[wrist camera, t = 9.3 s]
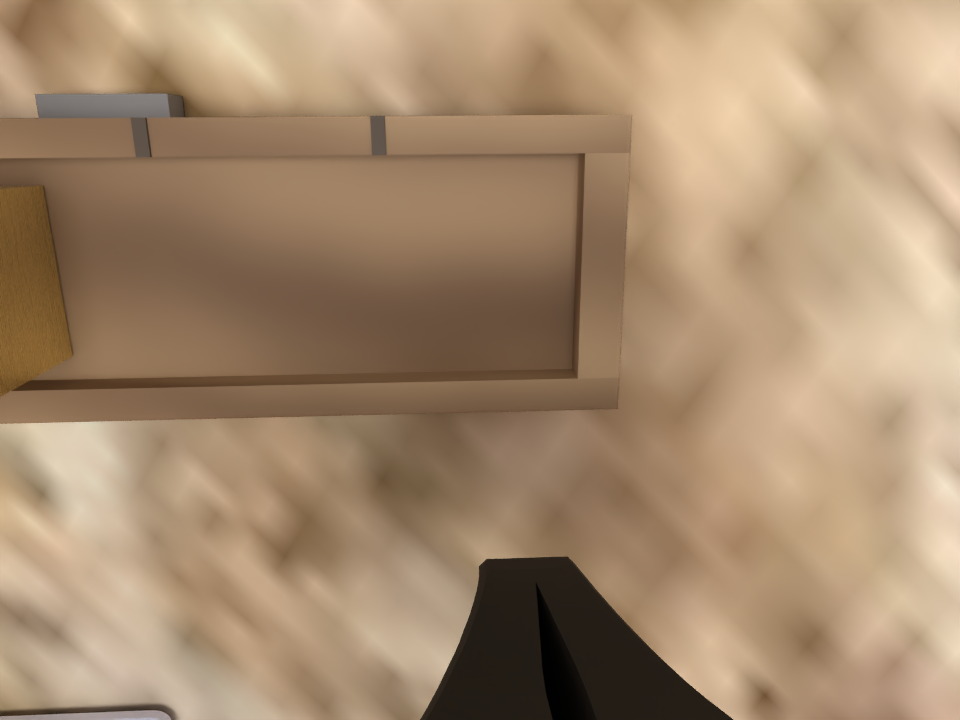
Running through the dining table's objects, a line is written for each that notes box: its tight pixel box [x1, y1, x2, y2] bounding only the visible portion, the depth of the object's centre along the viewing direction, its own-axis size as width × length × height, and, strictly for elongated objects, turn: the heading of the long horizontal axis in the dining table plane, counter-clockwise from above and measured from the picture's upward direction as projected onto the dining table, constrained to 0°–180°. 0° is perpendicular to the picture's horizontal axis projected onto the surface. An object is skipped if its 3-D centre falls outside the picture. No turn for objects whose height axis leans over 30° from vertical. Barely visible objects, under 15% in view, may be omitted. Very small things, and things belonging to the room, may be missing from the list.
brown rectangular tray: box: [0, 94, 632, 424], centre depth 17 cm, size 8×24×3 cm, turn 90°
